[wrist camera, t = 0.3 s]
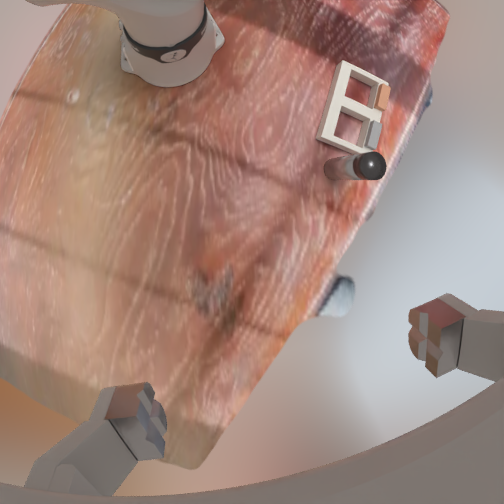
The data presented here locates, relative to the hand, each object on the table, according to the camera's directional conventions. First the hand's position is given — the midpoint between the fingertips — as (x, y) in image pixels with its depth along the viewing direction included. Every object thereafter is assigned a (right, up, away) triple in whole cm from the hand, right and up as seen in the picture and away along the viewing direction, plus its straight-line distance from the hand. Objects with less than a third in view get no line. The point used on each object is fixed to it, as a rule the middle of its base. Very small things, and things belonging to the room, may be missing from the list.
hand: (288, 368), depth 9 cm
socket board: (+17, +30, +45) cm, 56 cm away
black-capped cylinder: (+14, +18, +47) cm, 52 cm away
